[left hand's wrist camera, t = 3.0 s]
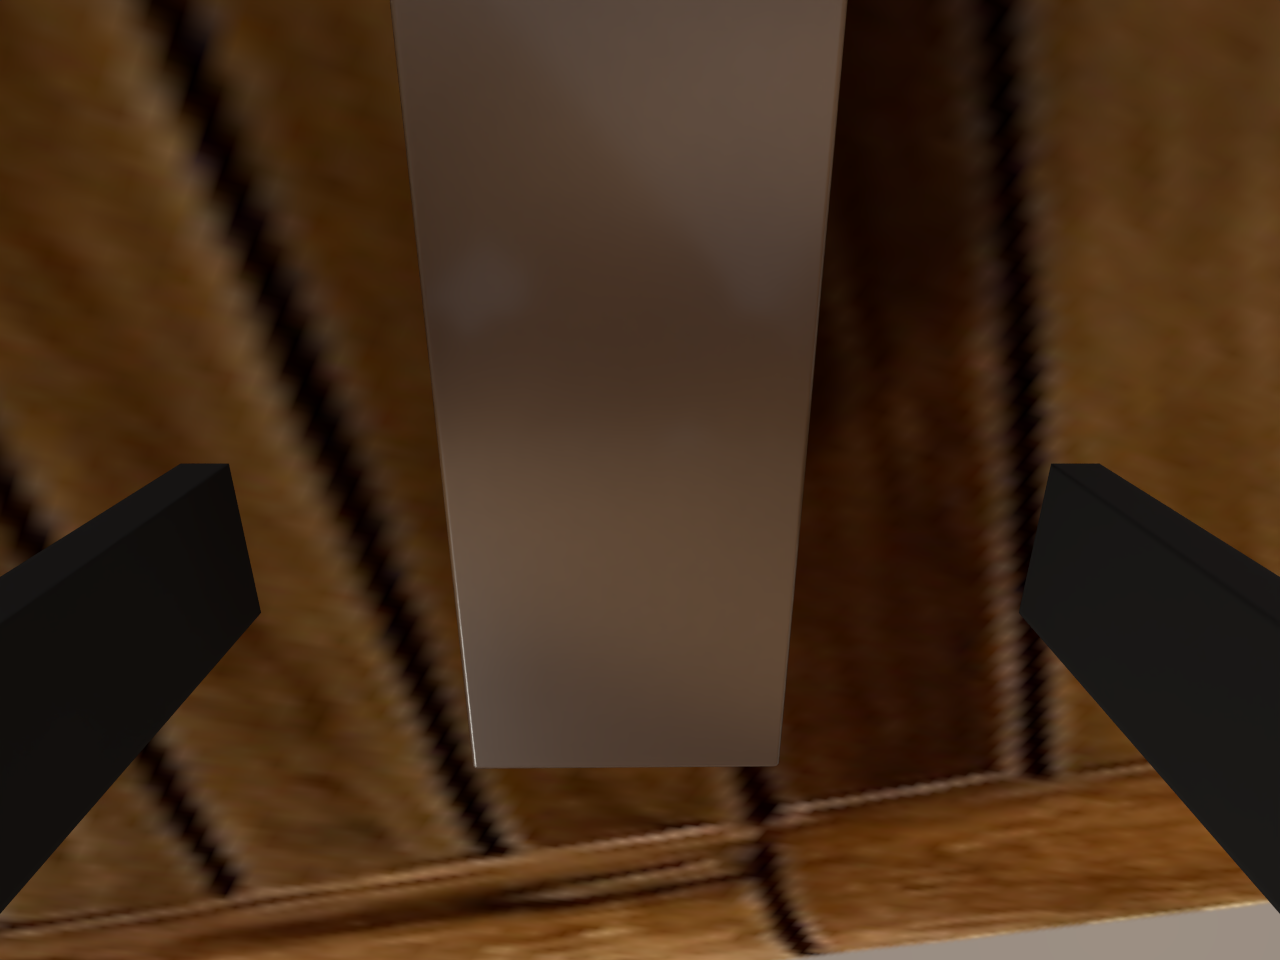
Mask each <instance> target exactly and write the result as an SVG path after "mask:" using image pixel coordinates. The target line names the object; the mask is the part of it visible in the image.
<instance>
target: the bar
mask: <svg viewBox="0 0 1280 960" xmlns="http://www.w3.org/2000/svg"><path fill="white" fill-rule="evenodd" d="M847 1H848V0H390V6H391V16H392V25H393V34H394V43H395V53H396V62H397V71H398V80H399V89H400V99H401V108H402V117H403V126H404V135H405V145H406V154H407V163H408V172H409V181H410V191H411V200H412V209H413V218H414V228H415V237H416V246H417V255H418V264H419V274H420V283H421V292H422V301H423V310H424V320H425V329H426V338H427V347H428V356H429V366H430V375H431V384H432V393H433V403H434V412H435V421H436V430H437V439H438V449H439V458H440V467H441V476H442V485H443V495H444V504H445V513H446V522H447V531H448V541H449V550H450V559H451V568H452V578H453V587H454V596H455V605H456V614H457V624H458V633H459V642H460V651H461V660H462V670H463V679H464V688H465V697H466V706H467V716H468V725H469V734H470V743H471V752H472V762H473V766H474V767H475V768H600V767H731V766H776V765H778V762H779V755H780V744H781V733H782V722H783V711H784V700H785V689H786V678H787V666H788V655H789V644H790V633H791V622H792V611H793V600H794V589H795V578H796V567H797V556H798V545H799V533H800V522H801V511H802V500H803V489H804V478H805V467H806V456H807V445H808V434H809V423H810V412H811V400H812V389H813V378H814V367H815V356H816V345H817V334H818V323H819V312H820V301H821V290H822V278H823V267H824V256H825V245H826V234H827V223H828V212H829V201H830V190H831V179H832V168H833V157H834V145H835V134H836V123H837V112H838V101H839V90H840V79H841V68H842V57H843V46H844V35H845V23H846V12H847Z"/></svg>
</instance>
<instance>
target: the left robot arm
mask: <svg viewBox="0 0 1280 960" xmlns="http://www.w3.org/2000/svg"><path fill="white" fill-rule="evenodd" d="M260 613H261V610H260V606H259V601H258V597H257V592H256V587H255V583H254V578H253V574H252V569H251V564H250V560H249V555H248V550H247V546H246V541H245V537H244V532H243V527H242V523H241V518H240V513H239V509H238V504H237V500H236V495H235V490H234V486H233V481H232V477H231V472H230V467H229V464H179V465H178V466H176V467H175V468H173V469H171V470H170V471H168V472H167V473H165V474H163V475H162V476H160V477H159V478H157V479H156V480H154V481H152V482H151V483H149V484H148V485H146V486H144V487H143V488H141V489H140V490H138V491H136V492H135V493H133V494H132V495H130V496H128V497H127V498H125V499H124V500H122V501H120V502H119V503H117V504H116V505H114V506H113V507H111V508H109V509H108V510H106V511H105V512H103V513H101V514H100V515H98V516H97V517H95V518H93V519H92V520H90V521H89V522H87V523H85V524H84V525H82V526H81V527H79V528H77V529H76V530H74V531H73V532H71V533H70V534H68V535H66V536H65V537H63V538H62V539H60V540H58V541H57V542H55V543H54V544H52V545H50V546H49V547H47V548H46V549H44V550H42V551H41V552H39V553H38V554H36V555H34V556H33V557H31V558H30V559H28V560H27V561H25V562H23V563H22V564H20V565H19V566H17V567H15V568H14V569H12V570H11V571H9V572H7V573H6V574H4V575H3V576H1V577H0V913H1V912H2V911H3V910H4V909H5V907H6V906H7V905H8V904H9V903H10V902H11V901H12V899H13V898H14V897H15V896H16V895H17V894H18V892H19V891H20V890H21V889H22V888H23V887H24V886H25V884H26V883H27V882H28V881H29V880H30V879H31V877H32V876H33V875H34V874H35V873H36V872H37V871H38V869H39V868H40V867H41V866H42V865H43V864H44V862H45V861H46V860H47V859H48V858H49V857H50V856H51V854H52V853H53V852H54V851H55V850H56V849H57V847H58V846H59V845H60V844H61V843H62V842H63V841H64V839H65V838H66V837H67V836H68V835H69V834H70V832H71V831H72V830H73V829H74V828H75V827H76V826H77V824H78V823H79V822H80V821H81V820H82V819H83V817H84V816H85V815H86V814H87V813H88V812H89V811H90V809H91V808H92V807H93V806H94V805H95V804H96V802H97V801H98V800H99V799H100V798H101V797H102V796H103V794H104V793H105V792H106V791H107V790H108V789H109V787H110V786H111V785H112V784H113V783H114V782H115V781H116V779H117V778H118V777H119V776H120V775H121V774H122V772H123V771H124V770H125V769H126V768H127V767H128V766H129V764H130V763H131V762H132V761H133V760H134V759H135V757H136V756H137V755H138V754H139V753H140V752H141V751H142V749H143V748H144V747H145V746H146V745H147V744H148V742H149V741H150V740H151V739H152V738H153V737H154V736H155V734H156V733H157V732H158V731H159V730H160V729H161V727H162V726H163V725H164V724H165V723H166V722H167V721H168V719H169V718H170V717H171V716H172V715H173V714H174V712H175V711H176V710H177V709H178V708H179V707H180V706H181V704H182V703H183V702H184V701H185V700H186V699H187V697H188V696H189V695H190V694H191V693H192V692H193V691H194V689H195V688H196V687H197V686H198V685H199V684H200V682H201V681H202V680H203V679H204V678H205V677H206V676H207V674H208V673H209V672H210V671H211V670H212V669H213V667H214V666H215V665H216V664H217V663H218V662H219V661H220V659H221V658H222V657H223V656H224V655H225V654H226V652H227V651H228V650H229V649H230V648H231V647H232V646H233V644H234V643H235V642H236V641H237V640H238V639H239V637H240V636H241V635H242V634H243V633H244V632H245V631H246V629H247V628H248V627H249V626H250V625H251V624H252V622H253V621H254V620H255V619H256V618H257V617H258V616H259V614H260ZM1019 613H1020V614H1021V616H1022V617H1023V618H1024V619H1025V620H1026V621H1027V622H1028V624H1029V625H1030V626H1031V627H1032V628H1033V629H1034V631H1035V632H1036V633H1037V634H1038V635H1039V636H1040V637H1041V639H1042V640H1043V641H1044V642H1045V643H1046V644H1047V646H1048V647H1049V648H1050V649H1051V650H1052V651H1053V652H1054V654H1055V655H1056V656H1057V657H1058V658H1059V659H1060V661H1061V662H1062V663H1063V664H1064V665H1065V666H1066V667H1067V669H1068V670H1069V671H1070V672H1071V673H1072V674H1073V676H1074V677H1075V678H1076V679H1077V680H1078V681H1079V682H1080V684H1081V685H1082V686H1083V687H1084V688H1085V689H1086V691H1087V692H1088V693H1089V694H1090V695H1091V696H1092V697H1093V699H1094V700H1095V701H1096V702H1097V703H1098V704H1099V706H1100V707H1101V708H1102V709H1103V710H1104V711H1105V712H1106V714H1107V715H1108V716H1109V717H1110V718H1111V719H1112V721H1113V722H1114V723H1115V724H1116V725H1117V726H1118V727H1119V729H1120V730H1121V731H1122V732H1123V733H1124V734H1125V736H1126V737H1127V738H1128V739H1129V740H1130V741H1131V742H1132V744H1133V745H1134V746H1135V747H1136V748H1137V749H1138V751H1139V752H1140V753H1141V754H1142V755H1143V756H1144V757H1145V759H1146V760H1147V761H1148V762H1149V763H1150V764H1151V766H1152V767H1153V768H1154V769H1155V770H1156V771H1157V772H1158V774H1159V775H1160V776H1161V777H1162V778H1163V779H1164V781H1165V782H1166V783H1167V784H1168V785H1169V786H1170V787H1171V789H1172V790H1173V791H1174V792H1175V793H1176V794H1177V796H1178V797H1179V798H1180V799H1181V800H1182V801H1183V802H1184V804H1185V805H1186V806H1187V807H1188V808H1189V809H1190V811H1191V812H1192V813H1193V814H1194V815H1195V816H1196V817H1197V819H1198V820H1199V821H1200V822H1201V823H1202V824H1203V826H1204V827H1205V828H1206V829H1207V830H1208V831H1209V832H1210V834H1211V835H1212V836H1213V837H1214V838H1215V839H1216V841H1217V842H1218V843H1219V844H1220V845H1221V846H1222V847H1223V849H1224V850H1225V851H1226V852H1227V853H1228V854H1229V856H1230V857H1231V858H1232V859H1233V860H1234V861H1235V862H1236V864H1237V865H1238V866H1239V867H1240V868H1241V869H1242V871H1243V872H1244V873H1245V874H1246V875H1247V876H1248V877H1249V879H1250V880H1251V881H1252V882H1253V883H1254V884H1255V886H1256V887H1257V888H1258V889H1259V890H1260V891H1261V892H1262V894H1263V895H1264V896H1265V897H1266V898H1267V899H1268V901H1269V902H1270V903H1271V904H1272V905H1273V906H1274V907H1275V909H1276V910H1277V911H1278V912H1279V913H1280V577H1279V576H1277V575H1276V574H1274V573H1273V572H1271V571H1269V570H1268V569H1266V568H1265V567H1263V566H1261V565H1260V564H1258V563H1257V562H1255V561H1253V560H1252V559H1250V558H1249V557H1247V556H1246V555H1244V554H1242V553H1241V552H1239V551H1238V550H1236V549H1234V548H1233V547H1231V546H1230V545H1228V544H1226V543H1225V542H1223V541H1222V540H1220V539H1218V538H1217V537H1215V536H1214V535H1212V534H1210V533H1209V532H1207V531H1206V530H1204V529H1203V528H1201V527H1199V526H1198V525H1196V524H1195V523H1193V522H1191V521H1190V520H1188V519H1187V518H1185V517H1183V516H1182V515H1180V514H1179V513H1177V512H1175V511H1174V510H1172V509H1171V508H1169V507H1167V506H1166V505H1164V504H1163V503H1161V502H1160V501H1158V500H1156V499H1155V498H1153V497H1152V496H1150V495H1148V494H1147V493H1145V492H1144V491H1142V490H1140V489H1139V488H1137V487H1136V486H1134V485H1132V484H1131V483H1129V482H1128V481H1126V480H1124V479H1123V478H1121V477H1120V476H1118V475H1117V474H1115V473H1113V472H1112V471H1110V470H1109V469H1107V468H1105V467H1104V466H1102V465H1101V464H1051V467H1050V472H1049V477H1048V481H1047V486H1046V490H1045V495H1044V500H1043V504H1042V509H1041V513H1040V518H1039V523H1038V527H1037V532H1036V537H1035V541H1034V546H1033V550H1032V555H1031V560H1030V564H1029V569H1028V574H1027V578H1026V583H1025V587H1024V592H1023V597H1022V601H1021V606H1020V610H1019Z"/></svg>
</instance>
